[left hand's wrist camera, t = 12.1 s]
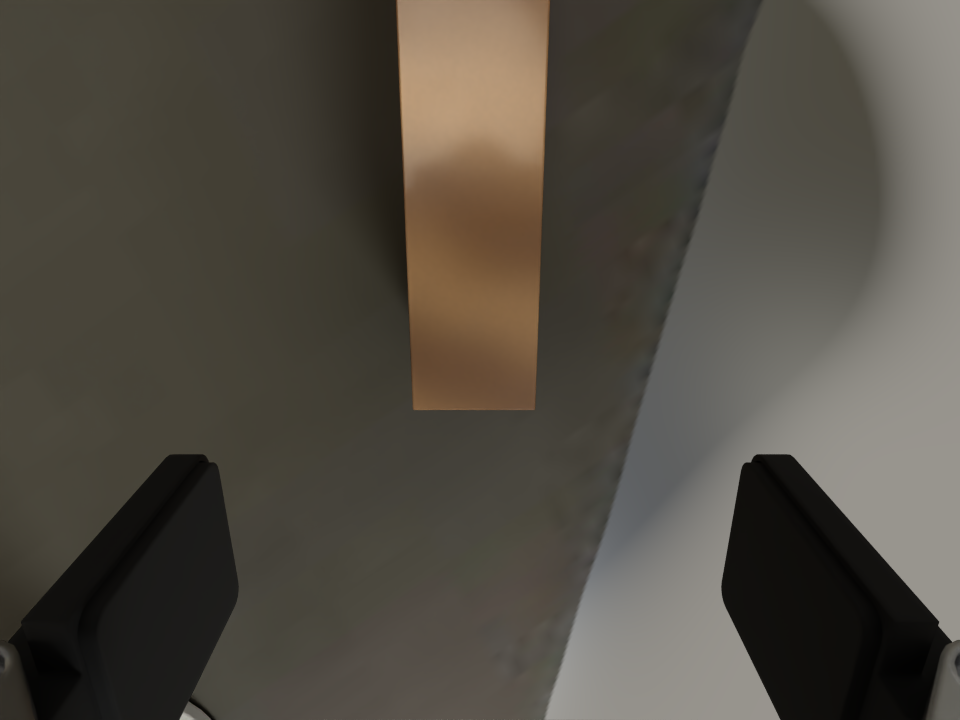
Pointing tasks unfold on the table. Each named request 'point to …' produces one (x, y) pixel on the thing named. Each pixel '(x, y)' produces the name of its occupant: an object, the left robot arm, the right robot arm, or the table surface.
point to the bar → (473, 197)
